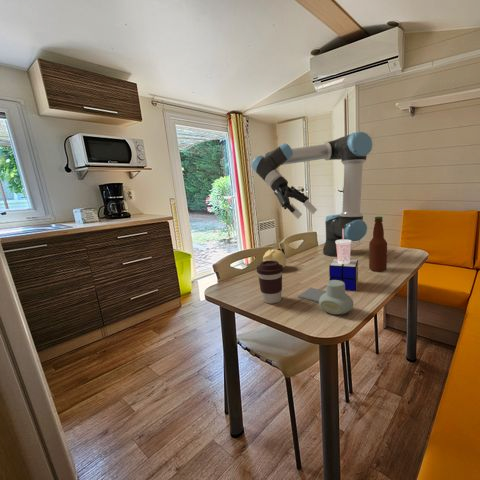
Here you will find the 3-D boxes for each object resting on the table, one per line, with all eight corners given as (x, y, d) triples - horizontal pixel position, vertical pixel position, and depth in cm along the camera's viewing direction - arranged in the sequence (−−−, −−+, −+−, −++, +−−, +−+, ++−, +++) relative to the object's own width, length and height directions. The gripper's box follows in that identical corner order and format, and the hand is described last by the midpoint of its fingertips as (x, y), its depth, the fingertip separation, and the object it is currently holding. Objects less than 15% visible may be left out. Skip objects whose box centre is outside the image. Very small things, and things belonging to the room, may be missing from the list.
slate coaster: (310, 288, 109) (310, 287, 108) (334, 294, 102) (334, 292, 102) (297, 297, 102) (297, 296, 101) (322, 303, 95) (322, 302, 95)
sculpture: (266, 265, 145) (265, 246, 143) (288, 265, 141) (287, 246, 139) (261, 272, 134) (259, 252, 132) (284, 273, 130) (283, 252, 128)
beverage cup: (332, 262, 108) (331, 229, 105) (341, 259, 111) (340, 226, 109) (346, 265, 103) (345, 230, 100) (354, 261, 107) (354, 227, 104)
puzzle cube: (329, 288, 107) (329, 265, 105) (333, 280, 116) (332, 258, 114) (356, 291, 103) (356, 267, 101) (358, 282, 111) (358, 259, 109)
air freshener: (315, 311, 90) (314, 283, 88) (325, 302, 96) (325, 276, 94) (347, 320, 83) (347, 290, 81) (356, 309, 89) (356, 281, 87)
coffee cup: (271, 308, 95) (268, 268, 92) (253, 300, 103) (250, 263, 100) (290, 299, 100) (288, 262, 97) (272, 292, 108) (270, 257, 105)
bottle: (385, 267, 125) (387, 215, 120) (387, 272, 119) (388, 217, 113) (368, 266, 128) (369, 216, 123) (369, 271, 122) (369, 218, 117)
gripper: (286, 186, 133) (315, 215, 126) (256, 190, 115) (287, 225, 108) (295, 174, 128) (325, 204, 121) (264, 177, 111) (298, 212, 104)
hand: (307, 214), depth 115 cm, fingers open, 13 cm apart
